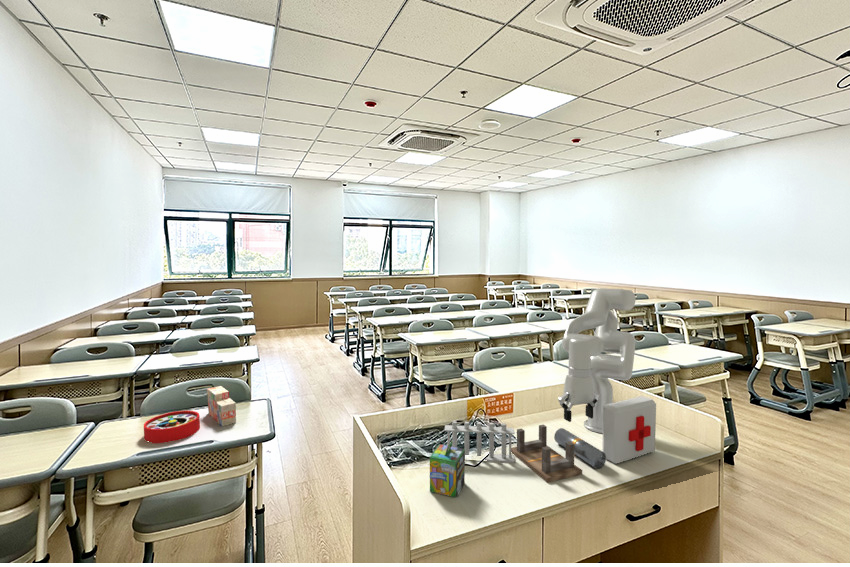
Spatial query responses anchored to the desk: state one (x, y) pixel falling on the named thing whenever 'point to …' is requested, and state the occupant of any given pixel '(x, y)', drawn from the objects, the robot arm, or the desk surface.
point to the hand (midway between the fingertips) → (578, 418)
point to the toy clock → (171, 426)
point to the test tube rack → (490, 430)
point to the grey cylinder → (581, 448)
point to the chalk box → (447, 470)
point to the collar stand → (545, 457)
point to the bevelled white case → (629, 428)
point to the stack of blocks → (221, 406)
